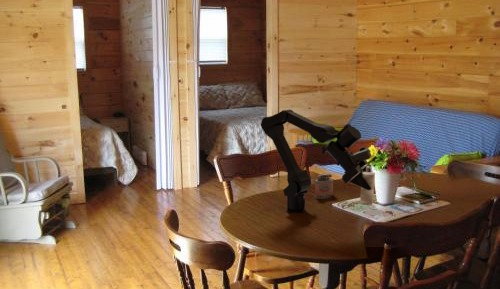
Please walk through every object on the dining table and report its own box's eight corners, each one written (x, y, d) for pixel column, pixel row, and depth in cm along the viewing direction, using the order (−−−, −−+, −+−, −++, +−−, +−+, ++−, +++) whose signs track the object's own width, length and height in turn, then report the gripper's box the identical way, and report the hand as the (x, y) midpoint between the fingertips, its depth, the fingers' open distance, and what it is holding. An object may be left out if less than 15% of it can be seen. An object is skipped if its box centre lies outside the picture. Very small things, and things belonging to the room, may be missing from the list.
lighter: (316, 199, 222) (316, 175, 220) (313, 197, 225) (313, 173, 224) (334, 197, 224) (334, 174, 223) (330, 195, 228) (331, 172, 226)
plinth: (363, 216, 199) (364, 213, 199) (366, 211, 205) (366, 209, 205) (380, 217, 197) (380, 215, 197) (382, 213, 203) (382, 210, 203)
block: (360, 204, 189) (361, 174, 187) (362, 201, 193) (363, 171, 191) (371, 205, 188) (372, 175, 186) (373, 202, 191) (374, 172, 189)
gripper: (352, 144, 179) (384, 180, 177) (363, 136, 196) (392, 168, 194) (329, 165, 184) (359, 200, 181) (341, 155, 201) (369, 187, 198)
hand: (371, 188), depth 189 cm, fingers closed on block, 4 cm apart
